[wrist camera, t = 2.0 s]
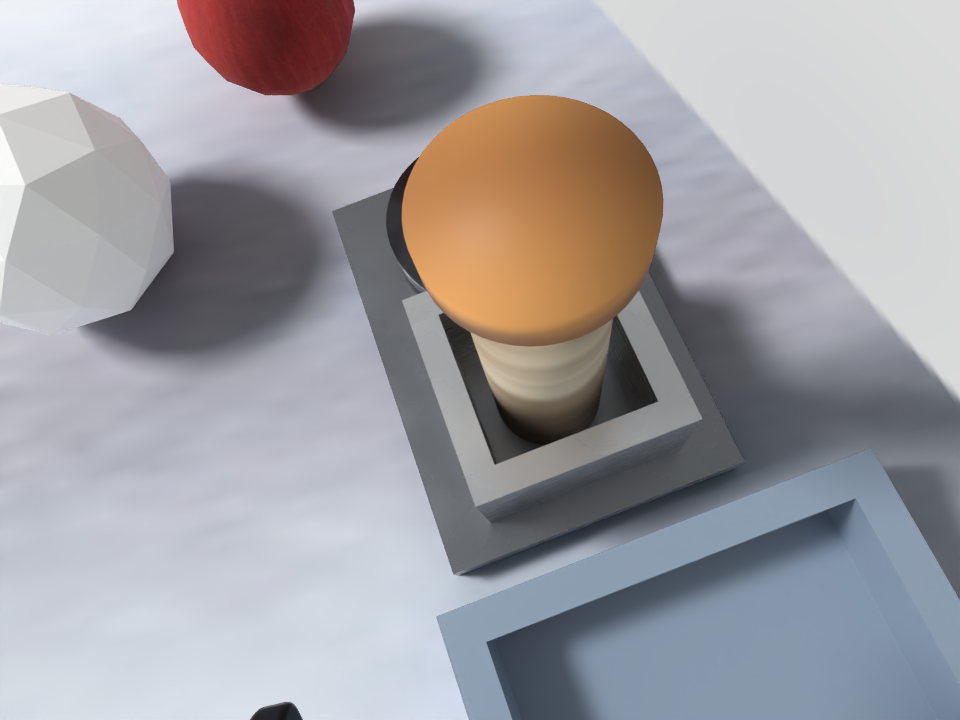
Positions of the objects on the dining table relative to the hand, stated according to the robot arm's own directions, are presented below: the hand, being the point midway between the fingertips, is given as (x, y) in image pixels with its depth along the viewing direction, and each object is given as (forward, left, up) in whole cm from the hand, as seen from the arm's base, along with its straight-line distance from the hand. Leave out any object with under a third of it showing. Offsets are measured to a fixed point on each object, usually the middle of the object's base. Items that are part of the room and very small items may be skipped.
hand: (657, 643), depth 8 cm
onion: (+23, +3, -13) cm, 26 cm away
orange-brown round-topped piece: (+7, -1, -12) cm, 13 cm away
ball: (+18, +12, -13) cm, 25 cm away
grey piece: (+9, -1, -13) cm, 16 cm away
